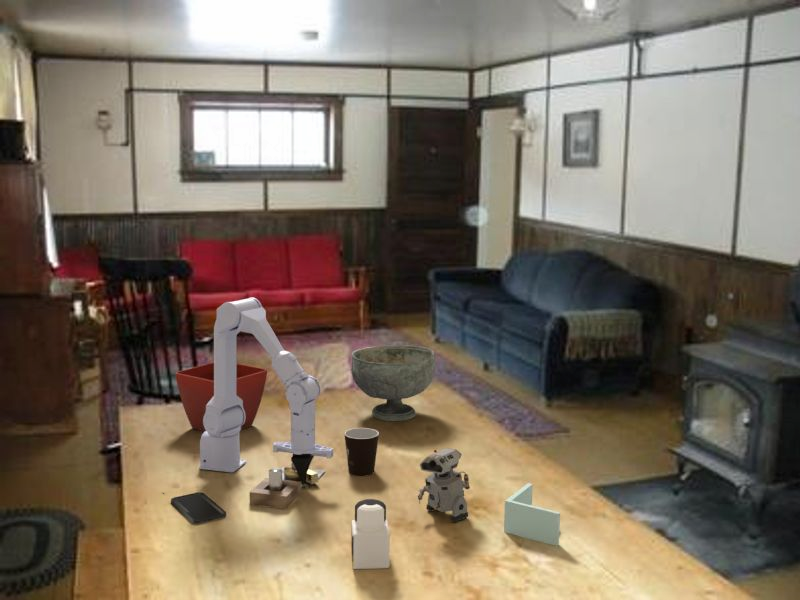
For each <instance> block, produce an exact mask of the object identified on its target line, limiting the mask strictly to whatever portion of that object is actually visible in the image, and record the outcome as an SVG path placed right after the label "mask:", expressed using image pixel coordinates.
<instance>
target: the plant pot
mask: <svg viewBox="0 0 800 600" xmlns="http://www.w3.org/2000/svg"><path fill="white" fill-rule="evenodd" d="M267 375H268V369H267V368H266V369H265V368H262V367H257V366H251V365H246V364H243V363H237V362H236V395H237V396H238V397H239V398H241V399H242V400H243V409H244V411H245V415H246V419H245V422H244V424H243V425H242V426H241V430H244V429H245V428H249V427H252V426H253V423H254V421H255V419H256V416H257V413H258V412H259V411H258V410H259V408H260V404H261V402H262V398H263V394H264V390H265V386H266V380H267ZM175 381H176V384H177V390H178V392H179V396H180V400H181V403H182V406H183V410H184V412H185V415H186V418H187V420H188V422H189V424H190V426H191V428H192V429H195V430H199V431H201V432H205V431H206V430H205V428H204V425H203V418H204V415H205V412H206V405H207V404H208V402H209V401H210V400H211V399H212V397H213V396H214V361H213V362H210V363H205V364H201V365H198V366H193V367H190V368H187V369H181V370H179V371H175Z"/></svg>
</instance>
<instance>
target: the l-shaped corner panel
mask: <svg viewBox="0 0 800 600" xmlns="http://www.w3.org/2000/svg"><path fill="white" fill-rule="evenodd" d="M533 485H534V484H533V483H530V482H528V483H526V484H525V485H524V486H522V488H520V489H519V490H517V491H516V492H514V494H512V495H511V496H509V497H508V498H507V499H505V500H504V519H503V520H504V521H503V532H504V533H507V534H510V535H515V536H518V537H521V538H525V539H529V540H533V541H536V542H541V543H545V544H548V545H550V546H551V545H552V546H556V547H558V546H559V544H560V543H559V542H560V526H561V525H560V523H561V512H560V511H555V510H553V509H547V508H543V507H540V506H534V505H533V491H534V489H533V487H534V486H533Z"/></svg>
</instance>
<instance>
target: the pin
mask: <svg viewBox="0 0 800 600" xmlns="http://www.w3.org/2000/svg"><path fill="white" fill-rule="evenodd" d="M268 478H269V490H273V491H282V468H280V467H279V468H277V467H274V468H269V470H268Z"/></svg>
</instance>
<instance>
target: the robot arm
mask: <svg viewBox="0 0 800 600" xmlns="http://www.w3.org/2000/svg"><path fill="white" fill-rule="evenodd" d="M266 314H267V311H266V309H265V308H264V307H263V305H262V303H261V301H260V300H259V299H257V298H255V297H251V296H250V297H248V298H245V299H244V298H243V299H239V300H234V301H226V302H224V303H223V304H221V305H220V306H218V307H217V308H216V319H215V323H214V326H213V362H214V396H213V397H212V399H211V400H210V401H209V402H208V404H207V405H206V412H205V415H204V418H203V425H204V428H205V430H206V431H203V433H202V434H201V436H200V440H199V458H200V459H199V460H200V461H199V464H200V466H199V467H198V469H199V470H205V471H206V470H207V471H215V472H224V473H225V472H226V473H234V472H236V471H238V469H239V468H241V467H242V466H243V465H245V463H247V460H245V459H241V455H240V452H241V451H240V450H241V449H240V448H241V447H240V431H242V429H241V426H242V425H243V424H244V422H245V419H246V415H245V411H244V409H243V400H242V399H241V398H239V397H238V396H237V395H236V363H237V349H238V347H237V344H238V343H237V342H238V341H237V335H238V334H240V332H242V333H247V334H252V335H253V336H254V337H255V339H256V340H257V341H258V342H259V344H260V345H261V346H262V348H263V349H264V350H265V352H266V353H267V354H268V355H269V357H270V358H271V368H272V369H273V371H274V372H275V374H276V375H277V376H278V378H279V380H280V382H282V384H283V385H284V387H285V388H286V391H285V392H284V393H285V394H284V395H285V398H286V400H287V401H288V404H289V410H290V441H288V442H287V441H276V442H274V443H273V444H272V452H273V453H278V452H281V453H289V454H292V456H291V457H290V458H291V459H290V461H291V463H293V464H294V466H295V468H296V470H297V473H298V476H299V482H301V485H303V484H304V483H305V482H306V478H307V471H308V468H309V467H310V466H311V463H312V462H313V460H314V457H323V458H326V459H332V458H333V457H334V448H333V447H327V446H323V445H321V444H316V400H317V399H318V398H319V396H320V395H321V385H320V383H319V381H318V379H317V378H316V377H315V376H312V375H310V374H309V373H307V372H306V371H305V370H304V369H303V367H302V365H301V364H300V363H299V362H298V360H297V359H298V357H297V356H296V355H295V354H293V353H292V352H290V351H288V350H285V349H284V348H283V346H282V344H281V343H280V340H279V339H278V336H276V333H275V332H274V330H273V328H272V327H271V325H270V323H269V322H268V320H267V317H266V316H267V315H266ZM309 469H310V468H309Z"/></svg>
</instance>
